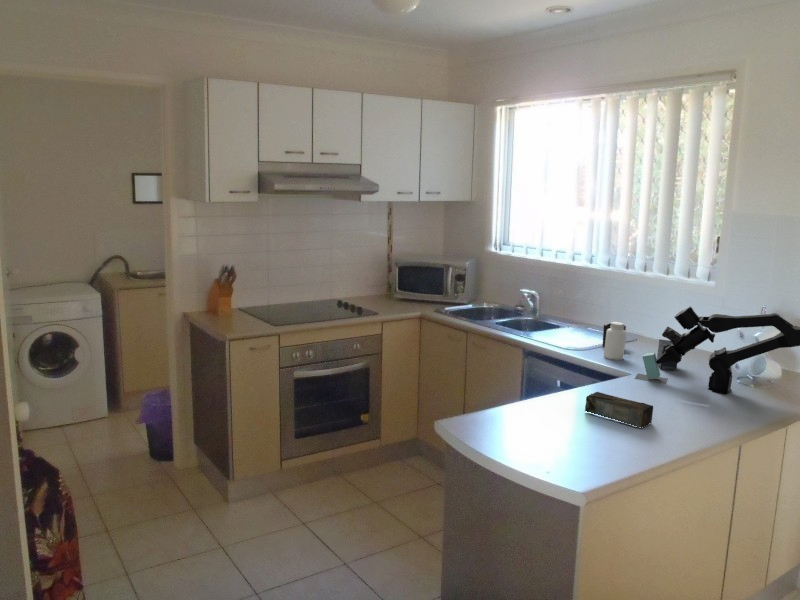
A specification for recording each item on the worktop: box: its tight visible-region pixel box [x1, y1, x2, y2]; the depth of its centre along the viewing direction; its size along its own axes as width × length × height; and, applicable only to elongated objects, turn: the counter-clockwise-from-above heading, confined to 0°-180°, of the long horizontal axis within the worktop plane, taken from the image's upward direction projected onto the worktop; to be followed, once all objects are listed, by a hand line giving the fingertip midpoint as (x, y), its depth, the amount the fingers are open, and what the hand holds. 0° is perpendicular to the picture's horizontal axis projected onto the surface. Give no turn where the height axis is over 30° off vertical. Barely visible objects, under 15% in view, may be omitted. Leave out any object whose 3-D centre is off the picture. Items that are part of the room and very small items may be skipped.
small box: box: [656, 338, 678, 372], centre depth 266 cm, size 11×6×10 cm, turn 168°
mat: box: [634, 373, 669, 385], centre depth 250 cm, size 11×8×1 cm
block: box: [641, 352, 661, 379], centre depth 250 cm, size 4×4×9 cm
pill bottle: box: [603, 321, 627, 361], centre depth 277 cm, size 8×8×15 cm
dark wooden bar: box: [584, 391, 654, 428], centre depth 208 cm, size 8×19×7 cm, turn 48°
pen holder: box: [602, 322, 627, 348], centre depth 295 cm, size 9×9×10 cm
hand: (656, 362), depth 248 cm, fingers closed
